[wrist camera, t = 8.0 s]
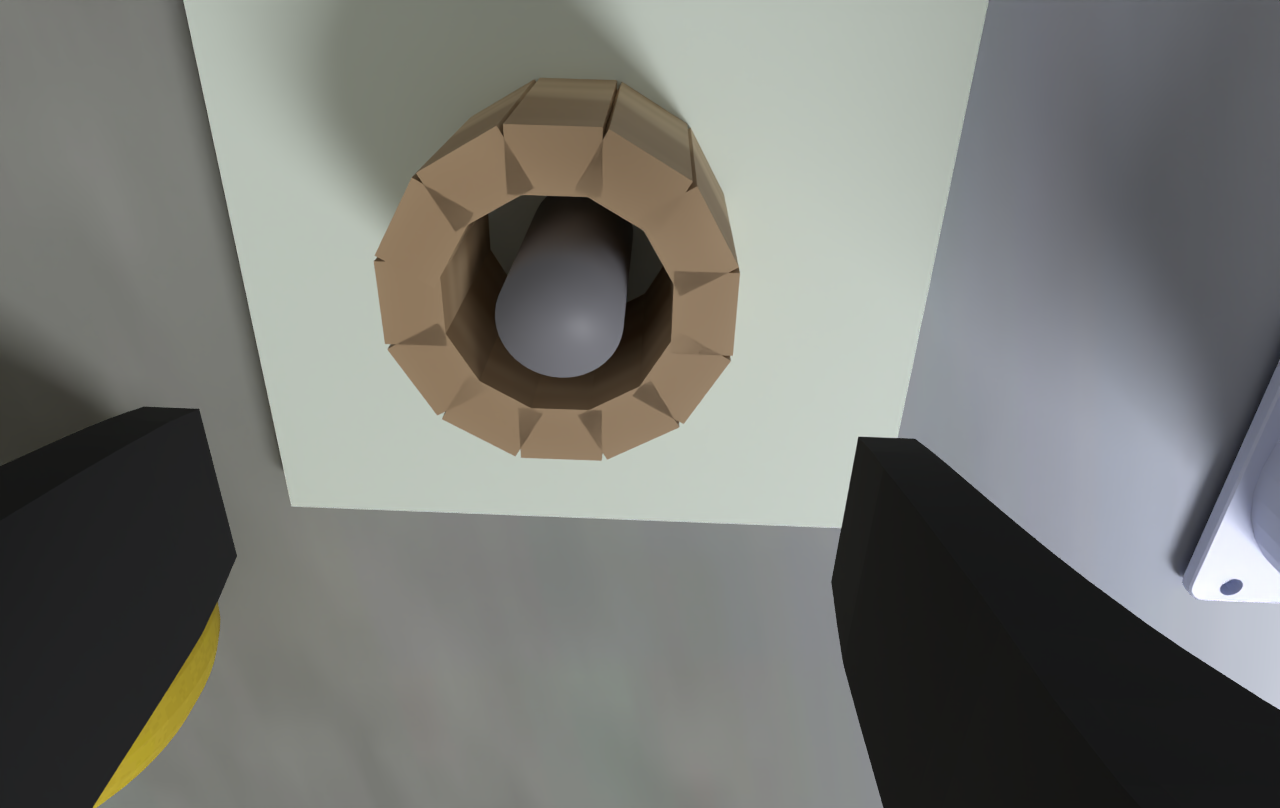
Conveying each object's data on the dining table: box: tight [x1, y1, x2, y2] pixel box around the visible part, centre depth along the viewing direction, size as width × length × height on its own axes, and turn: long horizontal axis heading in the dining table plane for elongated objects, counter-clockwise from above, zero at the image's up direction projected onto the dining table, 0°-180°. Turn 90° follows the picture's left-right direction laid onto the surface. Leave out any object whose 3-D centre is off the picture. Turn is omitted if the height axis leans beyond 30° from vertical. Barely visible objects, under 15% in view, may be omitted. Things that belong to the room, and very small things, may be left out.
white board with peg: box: [183, 0, 989, 528], centre depth 15 cm, size 14×14×5 cm
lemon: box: [93, 602, 220, 808], centre depth 19 cm, size 6×6×8 cm
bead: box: [374, 78, 740, 461], centre depth 15 cm, size 6×6×4 cm
